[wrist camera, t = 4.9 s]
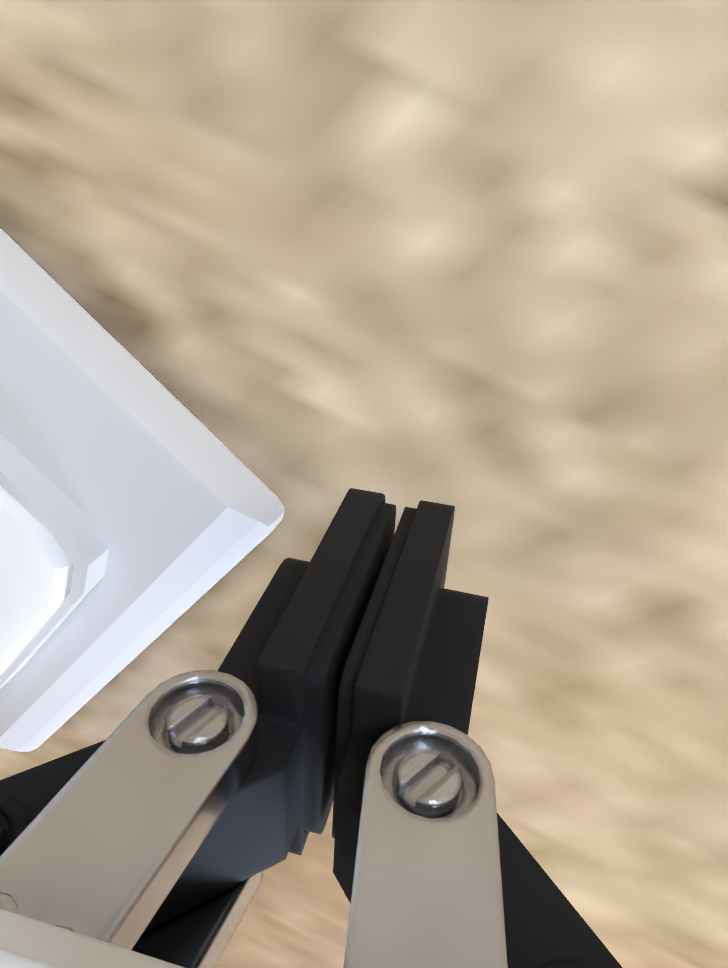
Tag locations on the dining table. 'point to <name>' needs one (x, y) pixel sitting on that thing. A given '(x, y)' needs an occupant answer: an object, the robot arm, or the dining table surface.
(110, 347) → the light switch
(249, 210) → the dining table surface
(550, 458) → the dining table surface
